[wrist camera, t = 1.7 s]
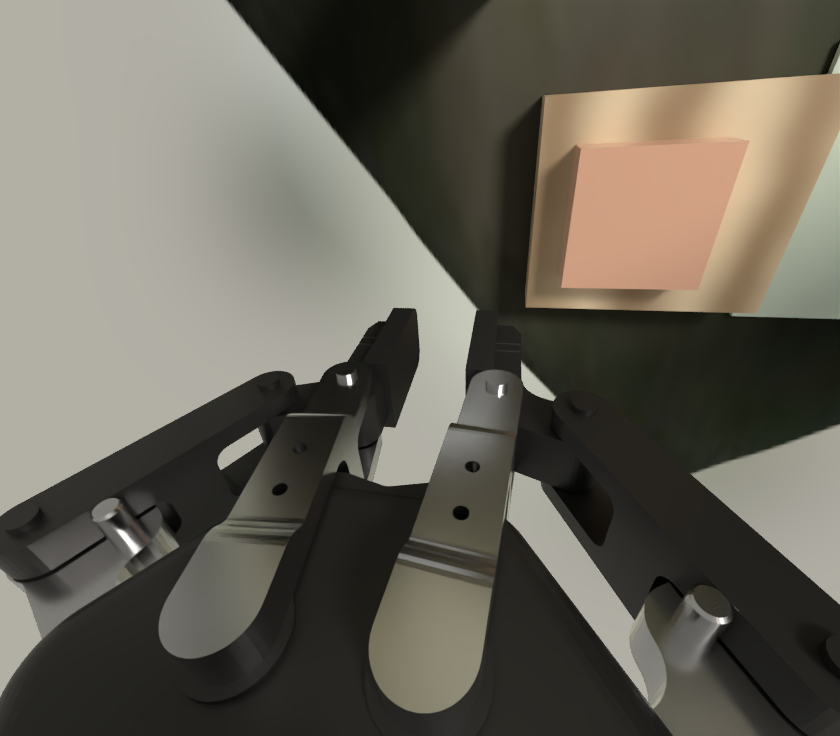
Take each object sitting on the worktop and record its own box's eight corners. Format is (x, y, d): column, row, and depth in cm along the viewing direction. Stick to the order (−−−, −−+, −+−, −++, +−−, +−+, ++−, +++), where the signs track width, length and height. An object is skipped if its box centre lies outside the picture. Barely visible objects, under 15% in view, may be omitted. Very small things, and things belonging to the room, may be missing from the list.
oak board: (827, 74, 22) (866, 71, 19) (736, 295, 29) (756, 313, 27) (542, 95, 25) (545, 95, 22) (524, 291, 32) (525, 307, 30)
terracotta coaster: (730, 136, 22) (749, 140, 20) (685, 276, 26) (697, 289, 24) (576, 144, 23) (580, 148, 21) (558, 275, 28) (561, 287, 26)
